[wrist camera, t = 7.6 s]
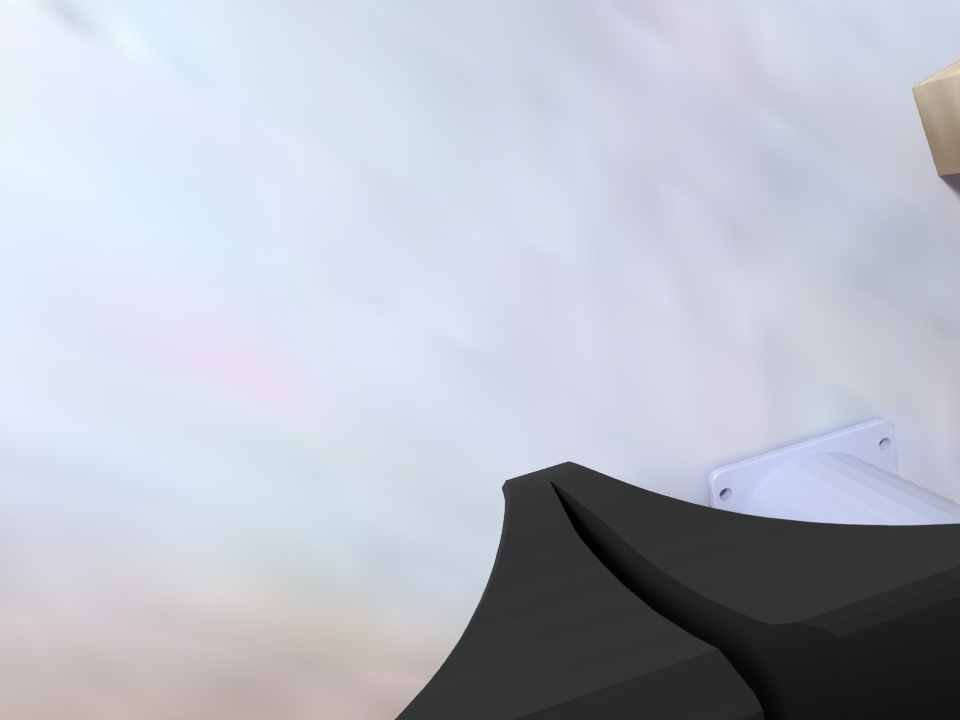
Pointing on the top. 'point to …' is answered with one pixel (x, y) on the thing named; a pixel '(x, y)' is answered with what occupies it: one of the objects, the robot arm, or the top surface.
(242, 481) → the top surface
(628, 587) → the robot arm
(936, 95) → the maple block
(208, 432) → the top surface
